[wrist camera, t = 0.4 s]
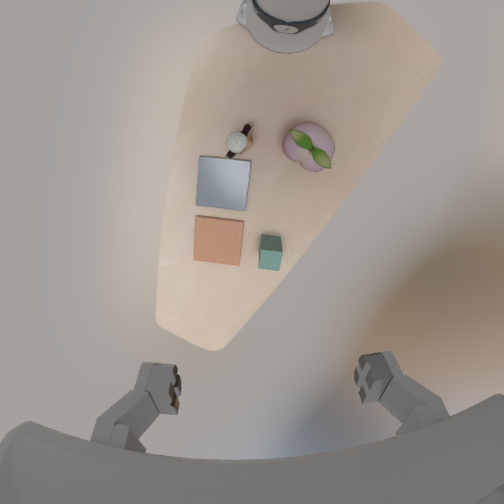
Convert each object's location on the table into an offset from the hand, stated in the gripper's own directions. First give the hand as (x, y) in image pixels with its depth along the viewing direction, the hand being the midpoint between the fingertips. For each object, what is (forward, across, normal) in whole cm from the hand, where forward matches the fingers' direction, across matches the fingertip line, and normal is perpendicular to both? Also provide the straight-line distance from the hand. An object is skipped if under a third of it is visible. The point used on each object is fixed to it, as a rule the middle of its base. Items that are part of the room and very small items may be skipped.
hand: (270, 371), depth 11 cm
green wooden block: (+46, -5, +17) cm, 49 cm away
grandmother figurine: (+48, +1, -5) cm, 48 cm away
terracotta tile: (+47, +6, +16) cm, 50 cm away
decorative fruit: (+47, -11, -4) cm, 48 cm away
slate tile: (+48, +5, +4) cm, 48 cm away
